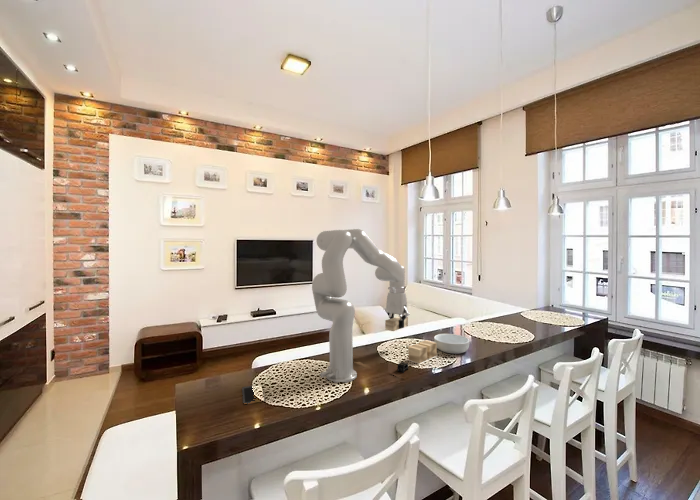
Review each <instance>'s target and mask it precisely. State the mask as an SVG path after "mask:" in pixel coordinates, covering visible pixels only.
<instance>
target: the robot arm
mask: <svg viewBox="0 0 700 500" xmlns="http://www.w3.org/2000/svg"><path fill="white" fill-rule="evenodd" d="M316 246H317V248H319V249H320V250H322V251H323V252H324V253H323V254H322V255H323V256H322V259H321V270H322V273H318V274H316V276H315V275H314V278H313V279H312V282H311V290H312V295H313V300H314V301H313V302H314V305H315V310H316V313H317V315H318V316H319V317H320V319H323V320H325V321H326V320H327V321H328V322H332V324H331V327H330V329H329V332H328V333H329V334H328V335H329V337H328V339H329V340H328V342H329V343H328V345H329V366H327V369H326V370H325V371H322V372H319V373H320V374H319V375H320V377H321V378H325V377H326V379H327V380H328V381H330V380H331V381H330V382H332V381H333V382H332V383H337V382H345V383H349V381H350V382H351V381H354V380H355V379H356V378H357V376H358V375H357V374H358V373H357V371H356V370H355V369H354V363H353V362H354V360H353V359H354V356H353V355H354V354H353V353H354V352H353V351H354V350H353V349H354V348H353V347H354V345H353V338H354V337H353V327H354V318H355V314H356V313H355V312H356V310H355V307H354V305H353V303H351V301H348V300H346V299H341V298H342V297H344V296H345V295H346V294H347V286H348V285H347V280H346V275H345V270H344V269H345V267H344V257H345V255H346V252H348V250H349V249H353V250H354V251H355V252H356V253H357V254H358V256H359V257H360V258H361V259H362V260H363V262H365V263H367V264H368V265H371V266H375V267H376V268H375V270H374V275H375V278H376V279H377V280H379V281H382V282H389V286H388V288H387V289H388V290H389V292H387V296H386V303H385V304H386V307H385V309H384V312H385V313H386V314H387V316H388V318H389V319H392V318H395V315H398V316H399V317H400V320H399V328H400V329H399V330H401V329H404V328H405V327H404V320H405V319H406V318H407V317H408V318H409V316H410V311H408V301H407V299H408V298H407V295H406V293H405V291H406V290H405V288H406V286H405V285H406V281H405V280H406V277H405V276H406V275H405V273H406V269H405V266H404V265H402V264H401V263H400V262H399V261H398V260H397V259H396V258H395V257H393V255H390V254H389V253H387V252H385V251H384V250H381V248H379V247H377V245H376V244H375V242H374V241H373V240H372V239H371V238H370V237H369V235H368V234H367V233H366V232H365V231H364V230H363V229H359V228H353V229H334V230H323V231H320V232H319V234H317V237H316Z"/></svg>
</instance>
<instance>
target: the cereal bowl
mask: <svg viewBox="0 0 700 500" xmlns="http://www.w3.org/2000/svg"><path fill="white" fill-rule="evenodd" d="M433 337H434V338H433V342H435V343H437V349H438V350H439V351H441V352H442V353H446V354H455V355H457V354H463V353H466V352H467V351H468V350H469V347H470V339H469V338H468V337H466V336H464V335H460V334H454V333H439V334H436V335H435V336H433Z"/></svg>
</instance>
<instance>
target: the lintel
mask: <svg viewBox="0 0 700 500" xmlns="http://www.w3.org/2000/svg"><path fill="white" fill-rule="evenodd" d="M399 320H400V317H399V315H398V316H394V318H392V319H390V318H389V319H386V320H384V321H385V322H384V323H385V326H384V329H385V331H390V332H395V331H397V330H401V329H400V328H399ZM408 323H409V316H408V317H407V318H406V319H405V320H404V328H407V327H408V325H409V324H408Z"/></svg>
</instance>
